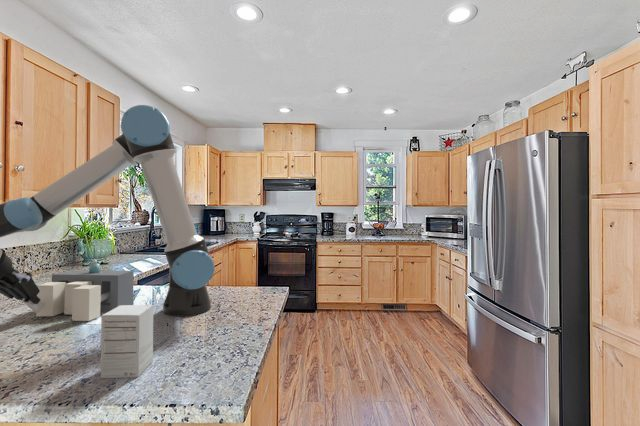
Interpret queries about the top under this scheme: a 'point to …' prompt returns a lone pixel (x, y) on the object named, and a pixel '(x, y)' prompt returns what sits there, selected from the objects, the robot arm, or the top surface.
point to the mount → (108, 279)
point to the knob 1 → (52, 298)
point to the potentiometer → (94, 267)
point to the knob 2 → (87, 302)
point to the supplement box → (126, 341)
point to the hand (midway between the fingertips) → (39, 307)
